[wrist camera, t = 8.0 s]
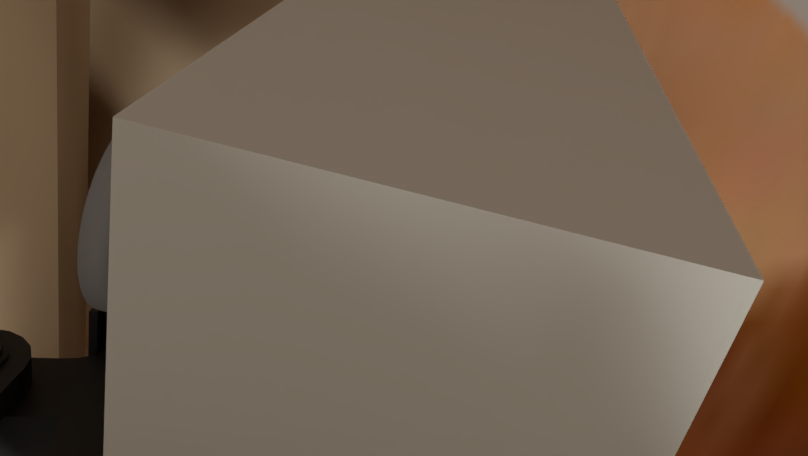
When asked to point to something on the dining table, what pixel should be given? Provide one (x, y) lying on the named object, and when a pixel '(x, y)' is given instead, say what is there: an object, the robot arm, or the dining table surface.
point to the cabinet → (77, 134)
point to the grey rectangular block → (410, 241)
